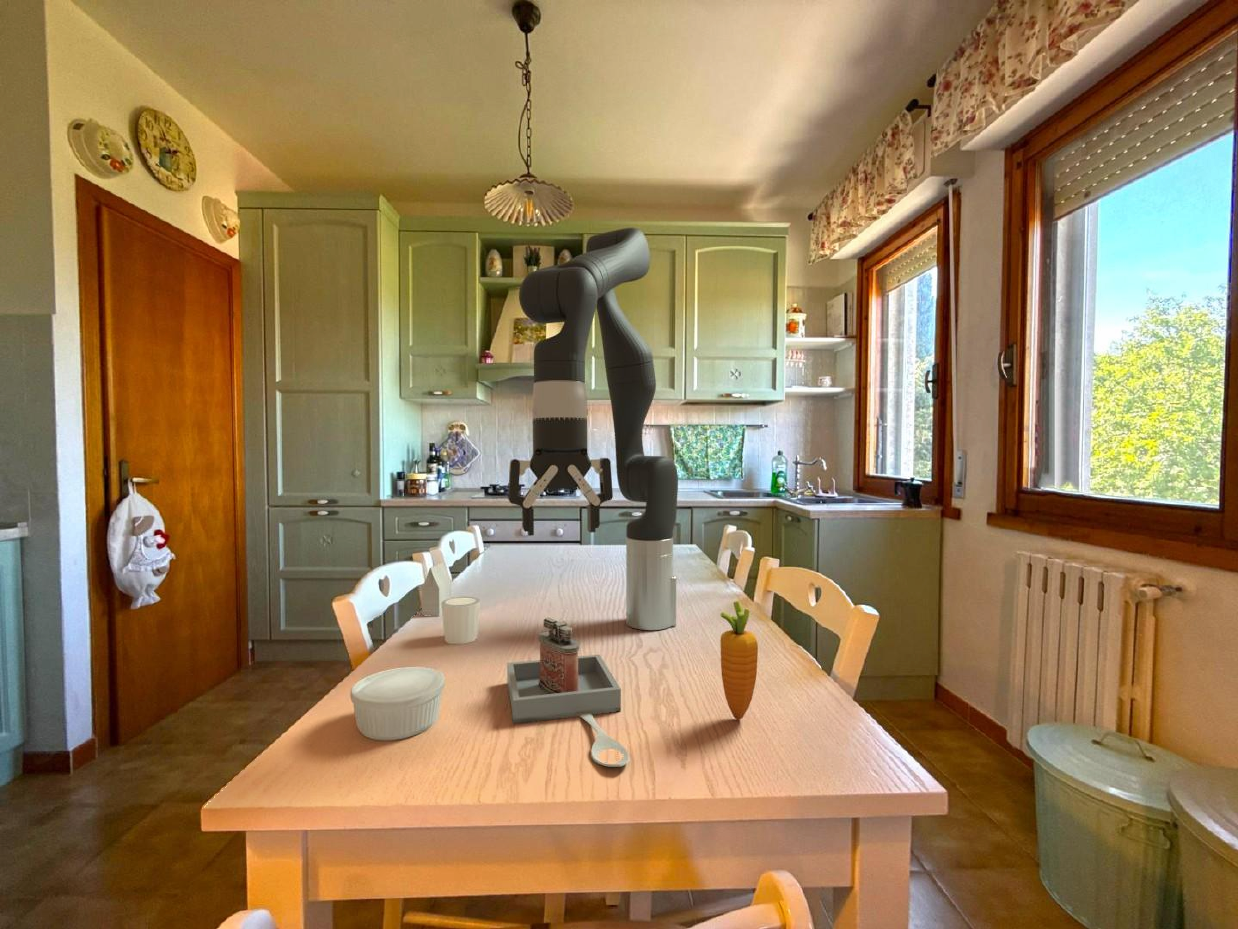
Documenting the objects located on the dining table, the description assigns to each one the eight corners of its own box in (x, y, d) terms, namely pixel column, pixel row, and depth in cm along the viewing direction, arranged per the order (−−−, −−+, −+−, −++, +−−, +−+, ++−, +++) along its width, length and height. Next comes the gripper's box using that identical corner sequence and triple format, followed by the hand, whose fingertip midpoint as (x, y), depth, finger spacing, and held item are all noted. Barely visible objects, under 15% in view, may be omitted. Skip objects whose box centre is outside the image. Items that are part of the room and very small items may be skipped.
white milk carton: (451, 607, 125) (451, 562, 124) (439, 616, 118) (439, 568, 118) (435, 607, 125) (434, 561, 125) (422, 616, 118) (421, 568, 118)
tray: (599, 673, 88) (599, 654, 88) (620, 711, 75) (620, 689, 75) (507, 683, 84) (507, 663, 84) (513, 724, 72) (513, 700, 72)
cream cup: (485, 633, 107) (485, 596, 107) (472, 646, 100) (472, 606, 100) (450, 632, 108) (450, 595, 108) (435, 644, 101) (434, 605, 101)
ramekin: (376, 703, 78) (375, 665, 78) (456, 704, 78) (456, 666, 78) (332, 746, 67) (331, 701, 67) (426, 747, 66) (425, 703, 66)
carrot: (750, 733, 70) (751, 611, 69) (712, 723, 72) (713, 605, 72) (763, 717, 74) (764, 602, 73) (726, 707, 76) (727, 597, 76)
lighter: (585, 699, 78) (585, 626, 77) (564, 706, 76) (564, 631, 75) (553, 680, 84) (553, 613, 84) (533, 686, 82) (533, 617, 82)
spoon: (601, 782, 60) (601, 767, 60) (558, 700, 80) (558, 689, 80) (638, 775, 62) (638, 760, 61) (587, 696, 81) (587, 684, 81)
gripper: (604, 417, 84) (604, 527, 85) (505, 417, 80) (507, 531, 81) (616, 415, 77) (617, 535, 77) (509, 414, 73) (511, 540, 74)
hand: (561, 533), depth 79 cm, fingers open, 8 cm apart
